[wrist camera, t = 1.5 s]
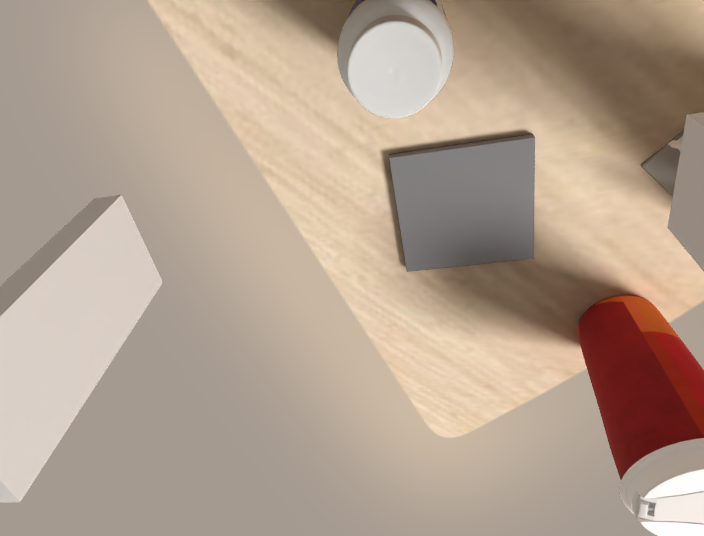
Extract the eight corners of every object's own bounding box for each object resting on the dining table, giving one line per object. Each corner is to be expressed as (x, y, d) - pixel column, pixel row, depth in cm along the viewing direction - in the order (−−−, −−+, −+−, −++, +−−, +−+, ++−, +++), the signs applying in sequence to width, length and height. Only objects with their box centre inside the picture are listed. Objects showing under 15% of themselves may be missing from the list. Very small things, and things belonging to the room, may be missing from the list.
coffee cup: (562, 368, 44) (623, 550, 31) (560, 290, 39) (632, 467, 27) (672, 357, 42) (782, 544, 30) (683, 274, 37) (819, 455, 25)
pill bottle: (330, 20, 30) (303, 63, 22) (405, -51, 28) (406, -32, 20) (388, 94, 32) (383, 158, 24) (463, 34, 30) (484, 82, 22)
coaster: (389, 154, 34) (389, 158, 34) (532, 134, 33) (534, 137, 32) (406, 267, 39) (406, 271, 39) (532, 253, 38) (533, 258, 37)
